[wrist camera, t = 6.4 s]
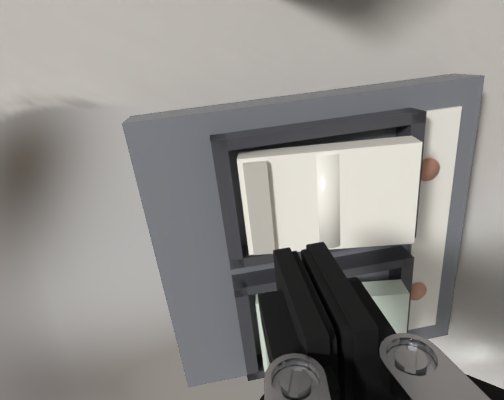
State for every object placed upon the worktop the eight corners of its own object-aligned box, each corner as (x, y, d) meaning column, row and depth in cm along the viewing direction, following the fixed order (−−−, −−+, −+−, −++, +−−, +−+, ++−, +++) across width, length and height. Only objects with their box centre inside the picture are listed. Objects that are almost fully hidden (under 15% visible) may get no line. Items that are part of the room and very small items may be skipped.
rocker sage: (399, 277, 22) (412, 297, 20) (395, 345, 24) (405, 369, 22) (256, 287, 22) (255, 307, 21) (264, 352, 25) (264, 376, 23)
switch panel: (454, 73, 22) (506, 76, 18) (428, 313, 29) (461, 349, 26) (130, 116, 20) (115, 129, 17) (189, 359, 28) (187, 406, 24)
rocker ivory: (410, 134, 18) (425, 144, 16) (403, 229, 20) (416, 246, 19) (239, 150, 19) (235, 161, 17) (250, 240, 21) (248, 258, 19)
